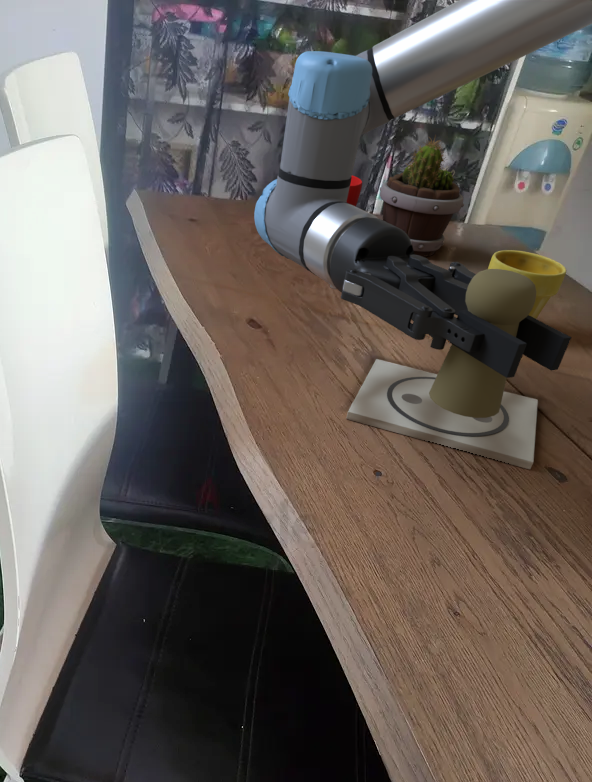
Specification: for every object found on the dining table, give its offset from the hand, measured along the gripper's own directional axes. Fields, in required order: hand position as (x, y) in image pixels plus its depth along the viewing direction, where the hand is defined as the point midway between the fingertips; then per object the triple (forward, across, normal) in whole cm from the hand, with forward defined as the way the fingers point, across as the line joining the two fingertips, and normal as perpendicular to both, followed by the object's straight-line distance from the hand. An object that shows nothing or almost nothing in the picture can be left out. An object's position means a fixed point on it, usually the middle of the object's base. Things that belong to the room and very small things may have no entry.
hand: (538, 357), depth 56 cm
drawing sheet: (-20, -15, -18) cm, 30 cm away
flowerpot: (-73, -52, -18) cm, 92 cm away
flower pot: (-38, -43, -18) cm, 61 cm away
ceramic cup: (-84, -38, -18) cm, 94 cm away
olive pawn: (-5, 0, -7) cm, 9 cm away
